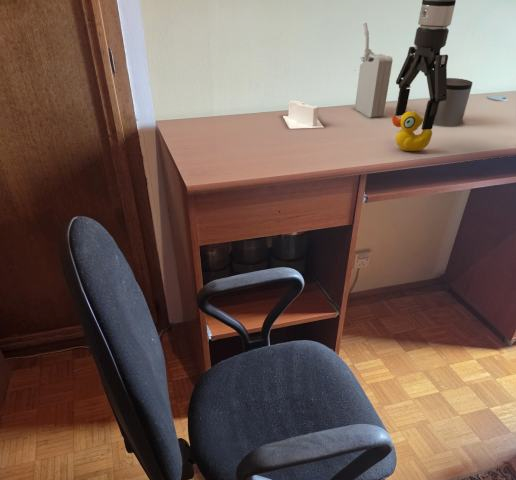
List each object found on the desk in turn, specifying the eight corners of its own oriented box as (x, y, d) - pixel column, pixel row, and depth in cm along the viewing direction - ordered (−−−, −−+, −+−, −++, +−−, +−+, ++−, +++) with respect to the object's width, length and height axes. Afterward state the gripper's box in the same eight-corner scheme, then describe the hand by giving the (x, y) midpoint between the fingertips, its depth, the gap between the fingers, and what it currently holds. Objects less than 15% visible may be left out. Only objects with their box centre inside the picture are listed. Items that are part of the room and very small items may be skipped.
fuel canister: (350, 107, 163) (360, 22, 146) (363, 106, 164) (374, 22, 147) (369, 118, 152) (383, 28, 135) (383, 117, 153) (398, 27, 136)
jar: (462, 127, 143) (473, 86, 136) (426, 124, 146) (435, 84, 138) (461, 118, 151) (471, 79, 143) (427, 115, 154) (435, 77, 146)
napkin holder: (324, 127, 144) (326, 107, 140) (289, 128, 143) (290, 109, 139) (314, 114, 155) (315, 96, 151) (282, 116, 154) (282, 97, 150)
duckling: (386, 151, 126) (392, 113, 119) (386, 145, 130) (393, 107, 123) (428, 155, 124) (437, 115, 117) (427, 148, 128) (436, 110, 121)
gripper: (393, 21, 116) (378, 110, 130) (450, 34, 98) (426, 136, 112) (418, 20, 118) (401, 108, 132) (479, 33, 100) (452, 134, 114)
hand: (412, 122), depth 122 cm, fingers open, 13 cm apart
